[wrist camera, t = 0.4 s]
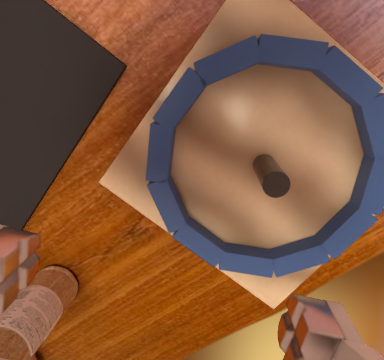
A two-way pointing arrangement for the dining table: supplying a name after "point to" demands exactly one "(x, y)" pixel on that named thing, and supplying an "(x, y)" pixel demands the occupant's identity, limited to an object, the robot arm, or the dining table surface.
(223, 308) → the dining table surface
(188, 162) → the platform
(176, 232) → the ring
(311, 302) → the robot arm
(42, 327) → the spice jar
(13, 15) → the mat
